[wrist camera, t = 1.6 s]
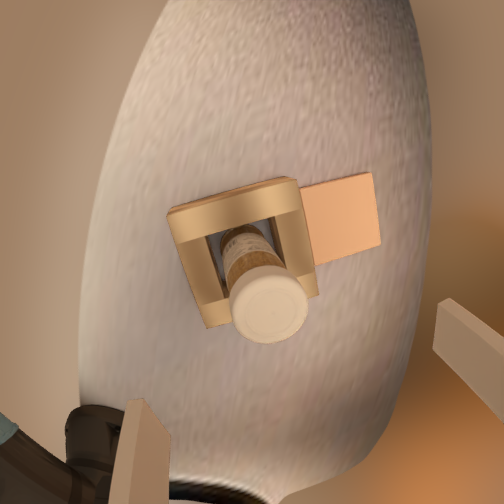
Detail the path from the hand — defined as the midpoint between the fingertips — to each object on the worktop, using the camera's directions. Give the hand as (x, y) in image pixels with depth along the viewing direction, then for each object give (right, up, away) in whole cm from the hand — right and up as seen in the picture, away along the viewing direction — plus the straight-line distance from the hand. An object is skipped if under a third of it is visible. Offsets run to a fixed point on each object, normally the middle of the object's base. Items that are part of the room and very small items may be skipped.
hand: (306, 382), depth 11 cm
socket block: (-3, +6, +18) cm, 19 cm away
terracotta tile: (+7, +9, +19) cm, 22 cm away
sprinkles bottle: (-3, +6, +18) cm, 20 cm away
